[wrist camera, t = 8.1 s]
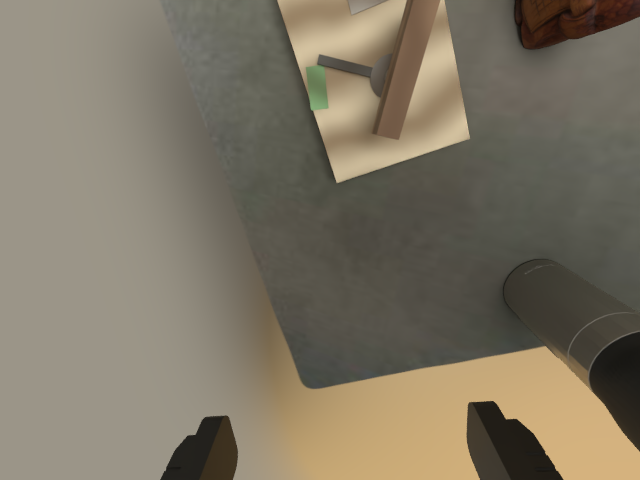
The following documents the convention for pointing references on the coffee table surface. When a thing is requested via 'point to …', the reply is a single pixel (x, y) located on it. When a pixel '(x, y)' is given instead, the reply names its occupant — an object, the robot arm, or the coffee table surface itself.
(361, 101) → the wooden lever base
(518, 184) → the coffee table surface
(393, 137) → the peg key
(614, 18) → the wooden figurine
